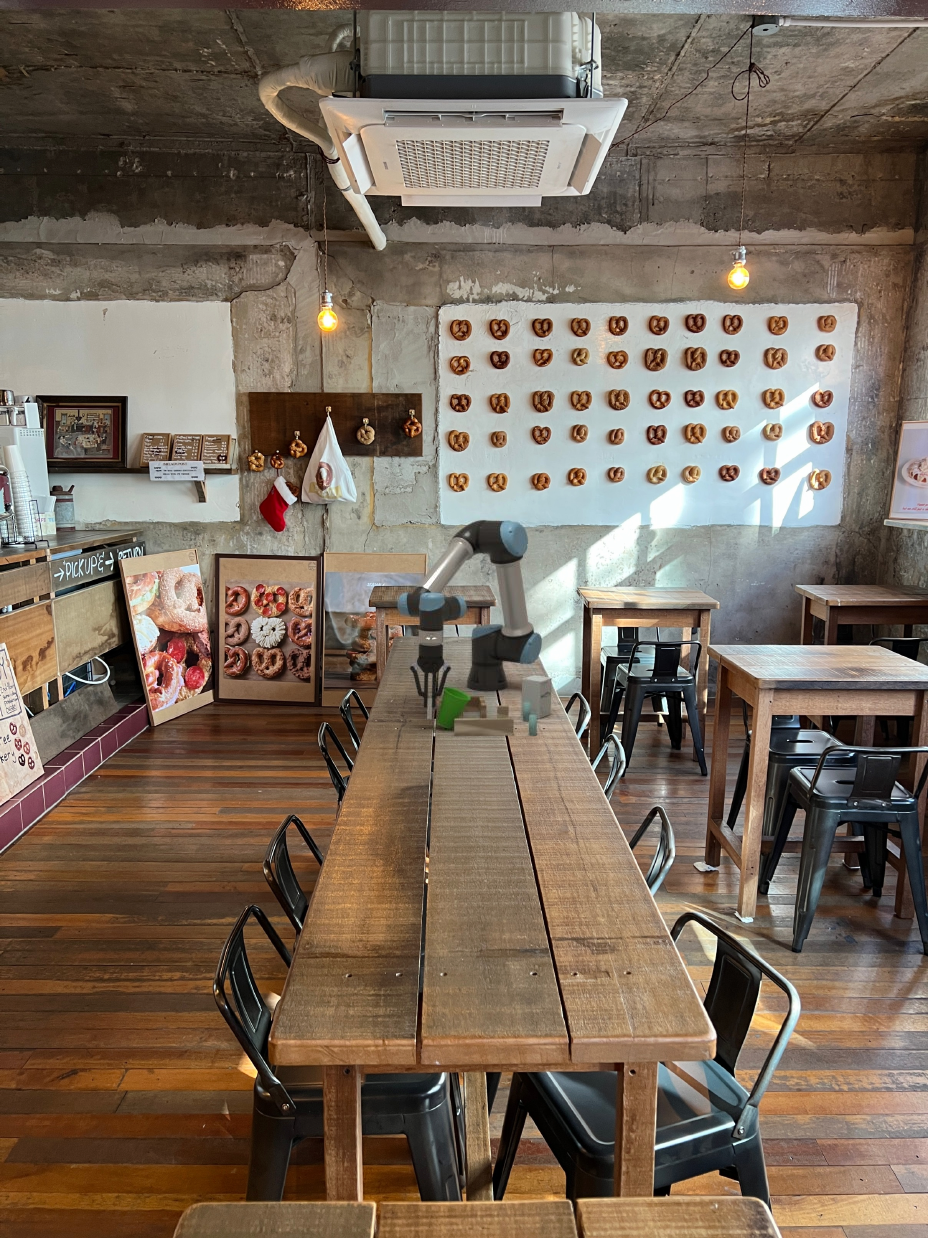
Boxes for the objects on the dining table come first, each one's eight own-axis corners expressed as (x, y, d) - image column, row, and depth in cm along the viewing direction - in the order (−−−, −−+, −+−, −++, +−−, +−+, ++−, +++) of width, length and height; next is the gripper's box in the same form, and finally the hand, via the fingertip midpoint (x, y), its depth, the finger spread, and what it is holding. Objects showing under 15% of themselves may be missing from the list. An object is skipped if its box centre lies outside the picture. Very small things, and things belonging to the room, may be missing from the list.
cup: (454, 734, 267) (468, 702, 265) (428, 722, 268) (441, 689, 266) (459, 727, 276) (473, 696, 274) (434, 715, 277) (447, 684, 275)
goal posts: (522, 719, 282) (522, 701, 281) (529, 719, 282) (530, 701, 281) (529, 735, 265) (529, 716, 264) (537, 735, 265) (537, 716, 264)
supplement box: (539, 719, 283) (540, 681, 281) (520, 715, 287) (521, 678, 285) (551, 714, 288) (552, 677, 286) (532, 711, 293) (533, 674, 291)
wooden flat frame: (438, 710, 292) (438, 696, 292) (504, 710, 294) (504, 695, 293) (441, 736, 264) (441, 720, 264) (513, 735, 266) (513, 719, 265)
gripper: (409, 645, 263) (408, 720, 267) (452, 646, 264) (450, 721, 268) (410, 640, 271) (408, 714, 274) (451, 641, 272) (449, 715, 275)
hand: (429, 717), depth 271 cm, fingers closed
